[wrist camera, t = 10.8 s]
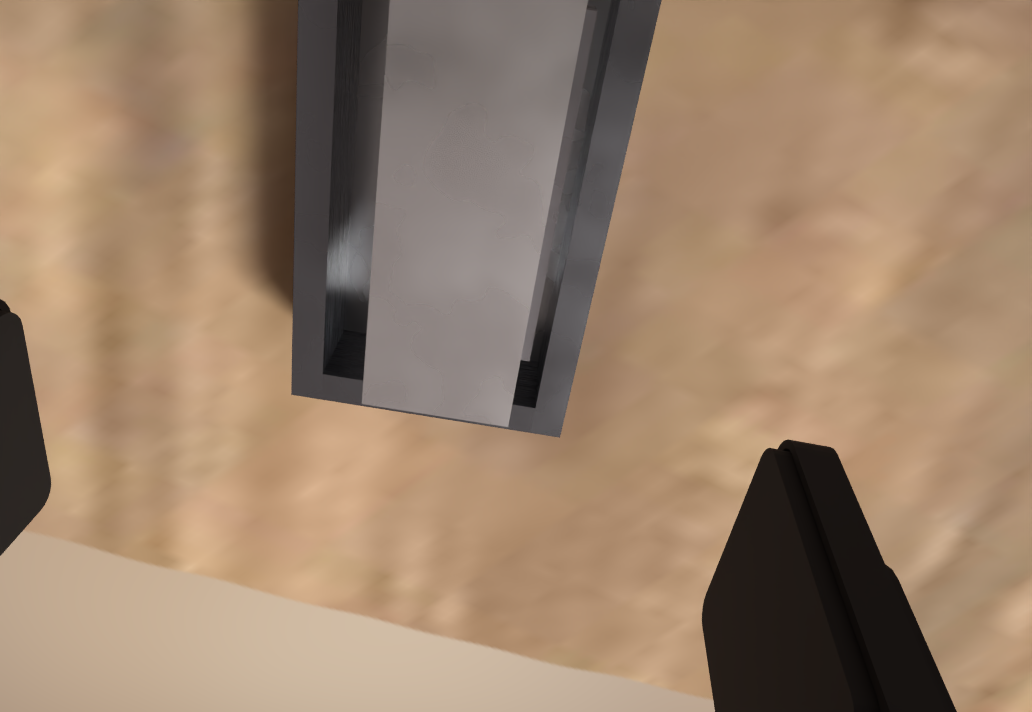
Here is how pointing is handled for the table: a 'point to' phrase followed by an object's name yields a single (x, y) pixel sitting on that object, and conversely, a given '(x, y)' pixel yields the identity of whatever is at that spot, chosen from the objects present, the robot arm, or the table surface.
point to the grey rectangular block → (468, 197)
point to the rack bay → (353, 185)
